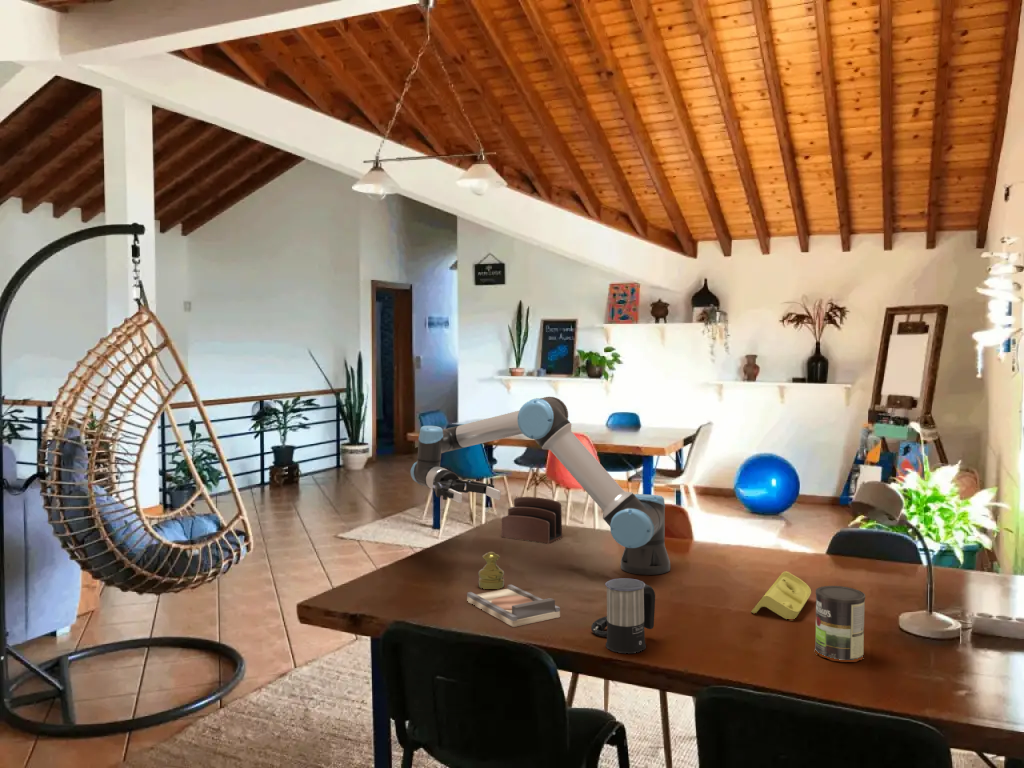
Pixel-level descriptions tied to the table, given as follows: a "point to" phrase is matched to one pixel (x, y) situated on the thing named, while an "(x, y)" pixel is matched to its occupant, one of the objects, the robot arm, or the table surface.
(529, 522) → the letter holder
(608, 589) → the milk frother
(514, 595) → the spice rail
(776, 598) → the plastic component
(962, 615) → the table surface
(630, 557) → the robot arm
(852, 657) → the coffee can
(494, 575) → the gold chess piece
